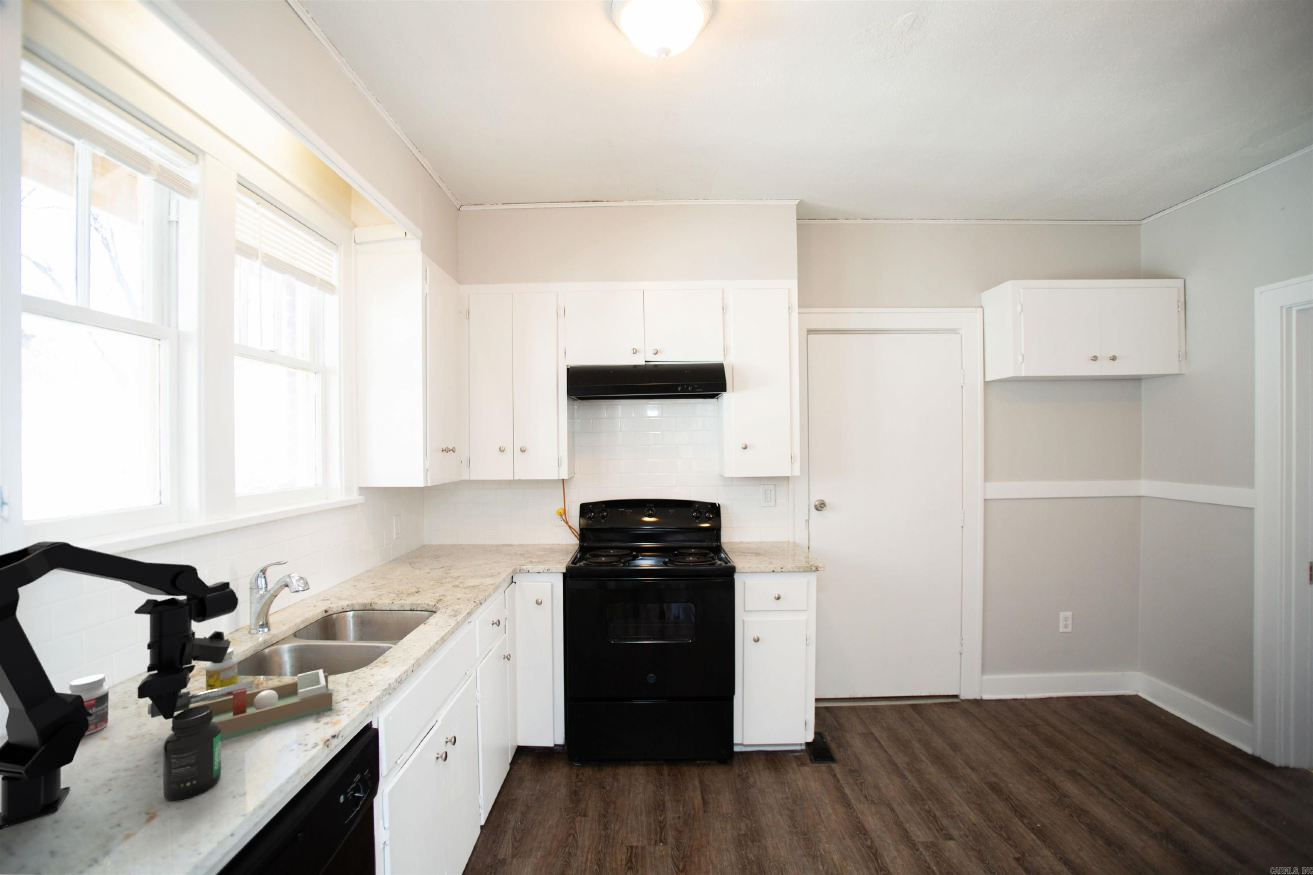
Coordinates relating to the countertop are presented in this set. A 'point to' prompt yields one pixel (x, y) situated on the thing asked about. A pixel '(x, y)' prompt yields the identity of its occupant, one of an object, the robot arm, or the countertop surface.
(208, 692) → the rod
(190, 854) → the countertop surface
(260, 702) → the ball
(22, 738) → the robot arm
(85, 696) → the pill bottle
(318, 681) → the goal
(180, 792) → the supplement bottle
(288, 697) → the tray
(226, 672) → the supplement bottle
